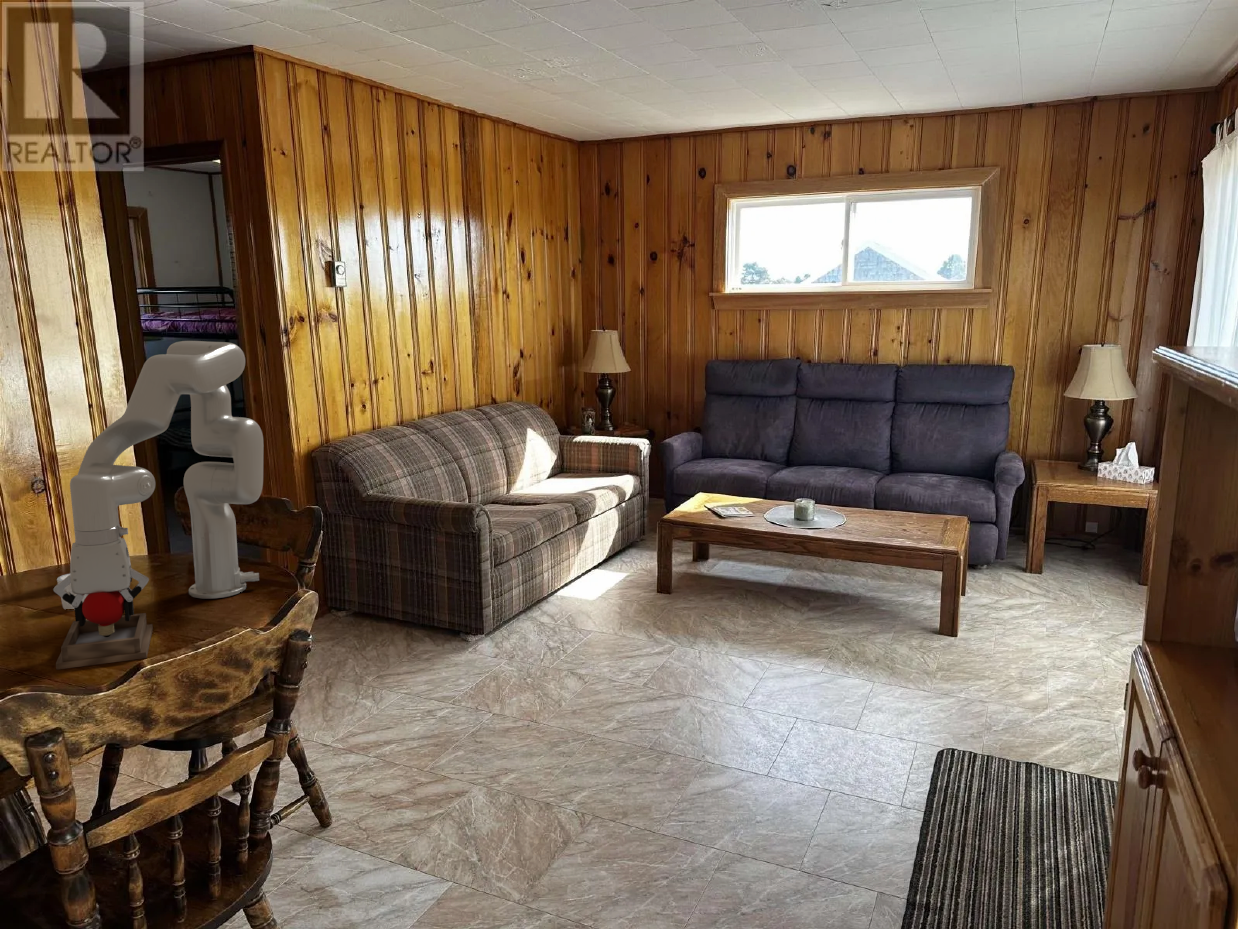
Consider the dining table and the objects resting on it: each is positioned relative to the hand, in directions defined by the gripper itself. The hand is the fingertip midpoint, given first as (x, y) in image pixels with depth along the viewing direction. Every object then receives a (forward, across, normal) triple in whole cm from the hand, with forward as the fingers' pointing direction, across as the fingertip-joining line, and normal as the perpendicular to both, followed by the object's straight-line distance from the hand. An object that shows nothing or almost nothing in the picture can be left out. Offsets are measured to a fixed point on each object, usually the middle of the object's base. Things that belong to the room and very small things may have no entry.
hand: (105, 620), depth 170 cm
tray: (+6, 0, 0) cm, 6 cm away
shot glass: (+6, +9, -30) cm, 32 cm away
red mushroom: (+3, 0, 0) cm, 3 cm away
